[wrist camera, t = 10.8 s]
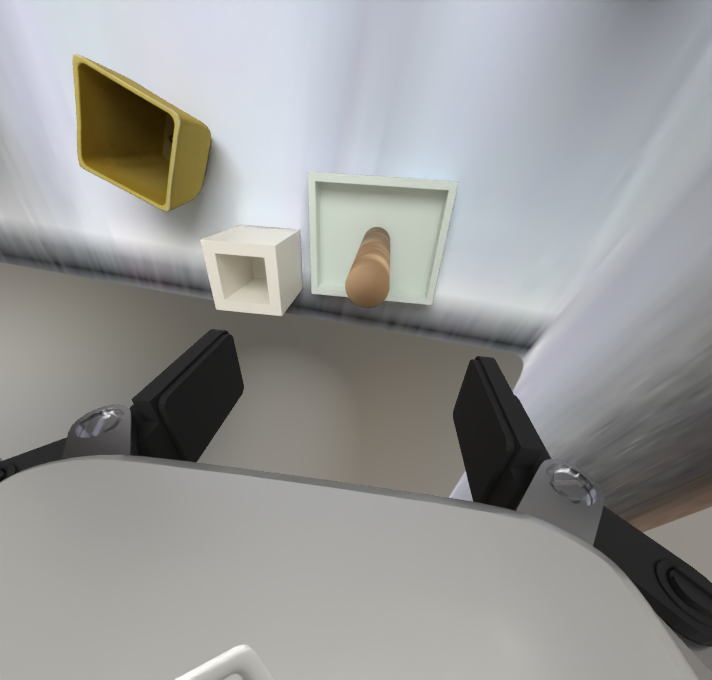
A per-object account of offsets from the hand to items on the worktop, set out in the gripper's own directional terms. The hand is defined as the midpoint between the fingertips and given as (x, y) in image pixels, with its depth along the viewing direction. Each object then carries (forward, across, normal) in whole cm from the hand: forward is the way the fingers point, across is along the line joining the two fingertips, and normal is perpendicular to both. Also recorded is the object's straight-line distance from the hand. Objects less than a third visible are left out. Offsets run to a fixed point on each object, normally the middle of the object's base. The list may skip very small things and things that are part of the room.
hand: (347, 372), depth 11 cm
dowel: (+27, 0, +1) cm, 27 cm away
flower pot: (+28, +23, -8) cm, 37 cm away
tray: (+28, 0, +1) cm, 28 cm away
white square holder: (+28, +14, +4) cm, 32 cm away
